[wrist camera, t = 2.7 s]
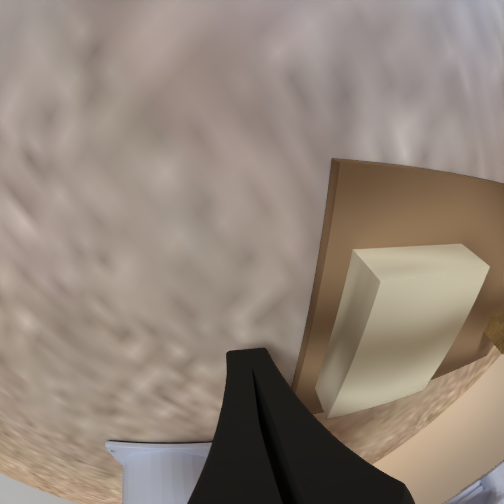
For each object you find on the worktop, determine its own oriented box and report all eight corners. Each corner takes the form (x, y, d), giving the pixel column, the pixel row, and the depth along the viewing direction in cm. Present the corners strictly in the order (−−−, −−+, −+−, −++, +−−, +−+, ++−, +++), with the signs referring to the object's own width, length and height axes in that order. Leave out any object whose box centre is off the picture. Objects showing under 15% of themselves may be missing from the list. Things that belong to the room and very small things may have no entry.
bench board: (483, 350, 19) (486, 355, 18) (286, 410, 16) (288, 418, 15) (550, 196, 12) (556, 199, 11) (331, 158, 9) (339, 162, 8)
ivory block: (407, 365, 15) (423, 389, 13) (314, 387, 14) (326, 419, 12) (461, 243, 11) (490, 266, 9) (352, 249, 10) (380, 281, 8)
